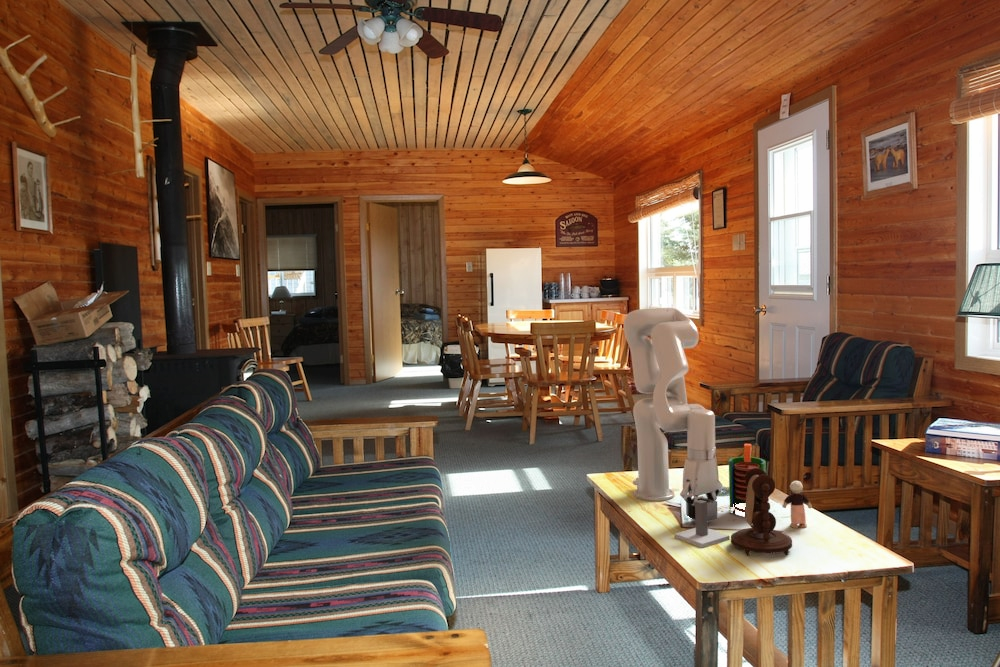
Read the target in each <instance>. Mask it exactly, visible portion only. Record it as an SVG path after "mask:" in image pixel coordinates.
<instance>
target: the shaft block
mask: <svg viewBox="0 0 1000 667" xmlns="http://www.w3.org/2000/svg"><path fill="white" fill-rule="evenodd" d="M694 521H695V527H692V528H689V529H687V530H683V531H679V532H675V533H674V538H676V539H678V540H682V541H683V542H687V543H689V544H692V545H694V546H698V547H700V548H706V547H709V546H712V545H716V544H720V543H723V542H725V541H729V540H731V535H729V534H726V533H724V532H720V531H717V530H714V529H713V528H712V529H710V528H709V527H708V526H709V525H708V522H709V521H708V519H707V502H706V501H703V500H698V501H695V520H694Z"/></svg>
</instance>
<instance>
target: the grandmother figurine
mask: <svg viewBox="0 0 1000 667" xmlns="http://www.w3.org/2000/svg"><path fill="white" fill-rule="evenodd" d="M789 488H790V490H791V492H792V494H789V495H788V496H786V497H785V498H784V500H783V504H782V505H781V506H782V508H783V509H786V508H787V506H788V505H789V504H790V522H791V523H790V524H789V526H790V527H791V528H793V529H799V527H800V528H803V529H804V528H807V527H808V524H807V522H806V521H807V519H806V511H805V505H804V503H805V504H806V506H807V508H808V509H812V507H813V506H812V503H811V502H810V500H809V498H808V497H807V496H806V495H805V494H803V493H801V492H802V491H803V488H804V487H803V483H802V482H801V481H800V480H793V481H792V482H791V483H790V485H789Z"/></svg>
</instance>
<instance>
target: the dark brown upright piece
mask: <svg viewBox="0 0 1000 667" xmlns="http://www.w3.org/2000/svg"><path fill="white" fill-rule="evenodd" d="M745 482H746V484H747V486H748V488H747V494H746V507H745V517H746V518H745V517H744V518H745V520H746V523H747V524H748V525H749V527H747V528H743V529H739V530H737V531H735V532H734V533H732V534H731V535H730V543H731V544H732V545H733V547H735V548H737V549H740V550H743V551H744V553H745V556H747V557H748V556H750V553H757V554H777V553H778V554H779V553H780V554H781V553H784V555H786V556H787V555H788V554H789V550H791V549H792V547H793V539H792V538H791V537H790V536H789V535H787V534H785V533H783V531H779V530H776V529H775V528H776V525H777V518H776V517H775V515H774V514H773V513H772V512H770V509H771V503H770V502H769V500H770V498H769V497H770V496H771V495H772V494H773V493H774V492H775V489H776V482H775V480H774V479H773V477H772V476H770V475H768V474H767V472H766V473H765V472H764V471H763V470H762V469H760V468H753V469H750V470H749V471H748V472H747V473H746V476H745ZM757 502H758V503H757Z"/></svg>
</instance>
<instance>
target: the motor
mask: <svg viewBox="0 0 1000 667" xmlns="http://www.w3.org/2000/svg"><path fill="white" fill-rule="evenodd" d="M751 454H752V443H744V445H743V456H736V457H731V458H730V459H728V479H729V480H728V485H729V493H728V494H729V508H730V507H733V504H734V507H735V505H736V504H739V503H746V494H747V488H748V486H747V484H746V482H745V476H746V473H747V472H748V471H749V470H750V469H753V468H760V469H762V470H763V471H764V472H765V473H766V474H767V470H766V469H767V468H766V467H767V466H766V464H767V462H766V460H765V459H763V458H759V457H755V456H752V455H751ZM735 503H736V504H735ZM757 503H758V502H757ZM735 509H737V510H739V511H742V512H745V510H743V509H739V508H737V507H735Z"/></svg>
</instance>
